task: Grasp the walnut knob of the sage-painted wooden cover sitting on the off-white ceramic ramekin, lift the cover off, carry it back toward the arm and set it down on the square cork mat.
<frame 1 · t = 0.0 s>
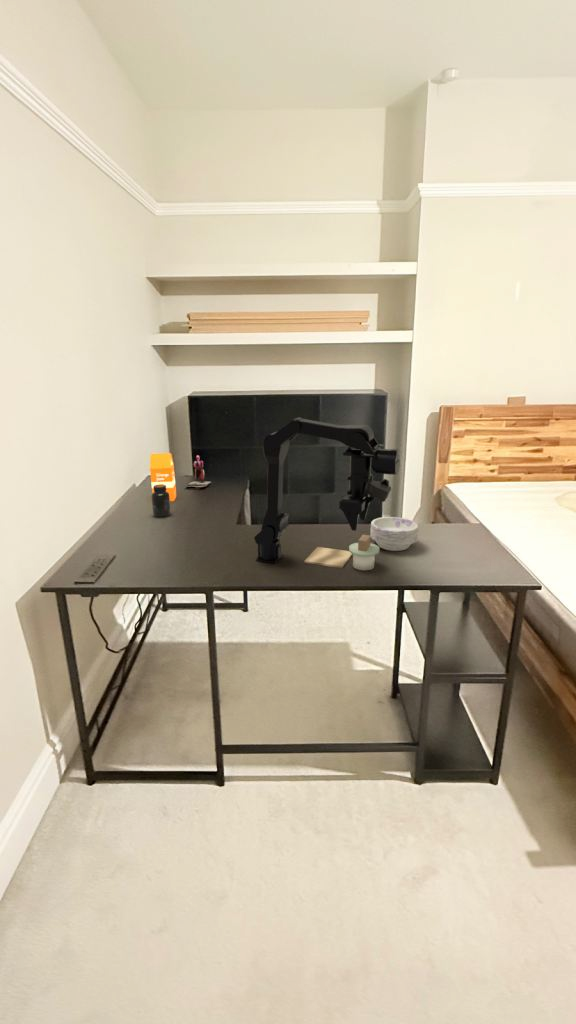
hand: (358, 525, 150), 15 cm above the table, fingers open, 9 cm apart
paper bowls: (393, 546, 173), on the table
statue: (198, 487, 246), on the table
mat: (329, 557, 164), on the table
supplement bottle: (162, 515, 207), on the table
orange juice: (165, 499, 228), on the table
ramekin: (363, 565, 158), on the table
cover: (364, 550, 157), point 5 cm above the table, touching ramekin
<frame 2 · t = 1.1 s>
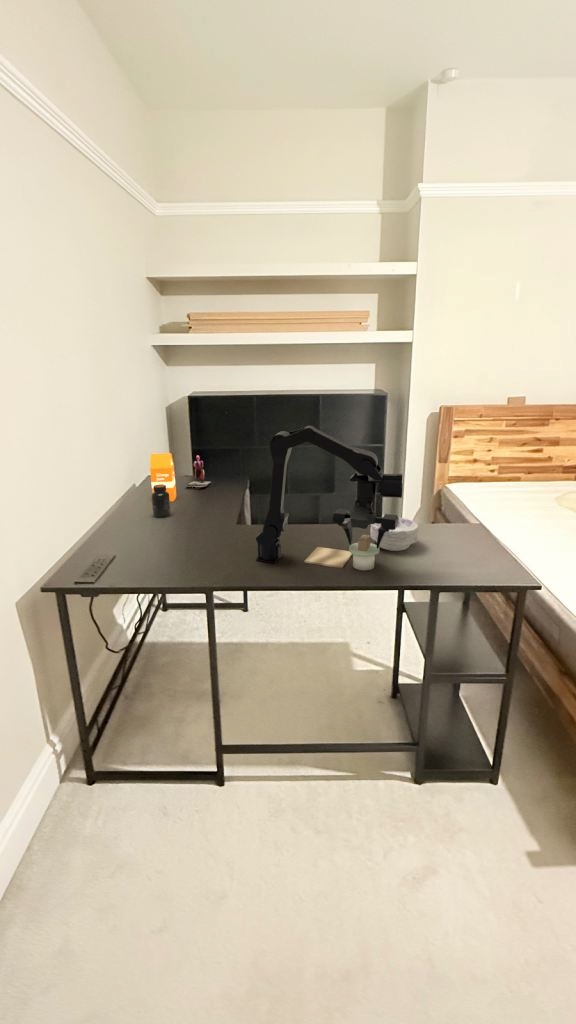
hand: (364, 546, 156), 6 cm above the table, fingers open, 8 cm apart
nothing on the table moved.
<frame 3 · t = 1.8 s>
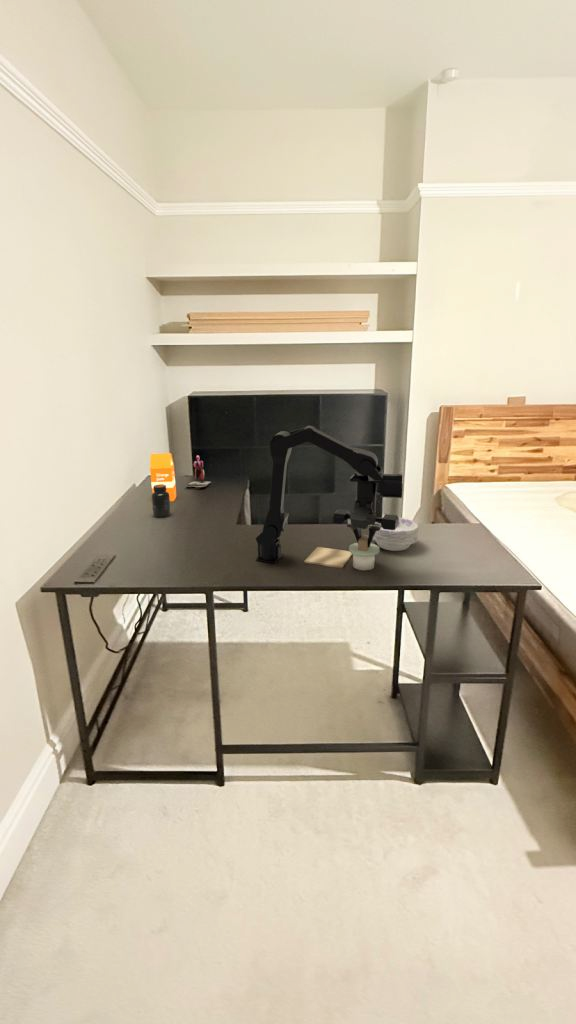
hand: (364, 546, 156), 6 cm above the table, fingers closed on cover, 2 cm apart
cover: (364, 550, 157), point 5 cm above the table, touching gripper, ramekin
everything else where it was.
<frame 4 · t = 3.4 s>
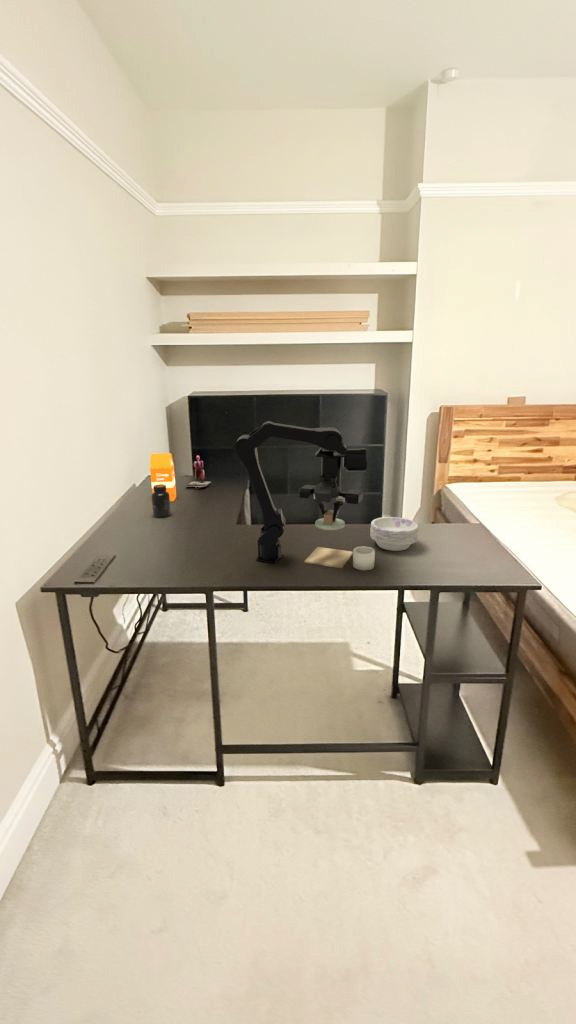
hand: (329, 521, 160), 12 cm above the table, fingers closed on cover, 2 cm apart
cover: (329, 524, 161), point 11 cm above the table, touching gripper
everything else where it was.
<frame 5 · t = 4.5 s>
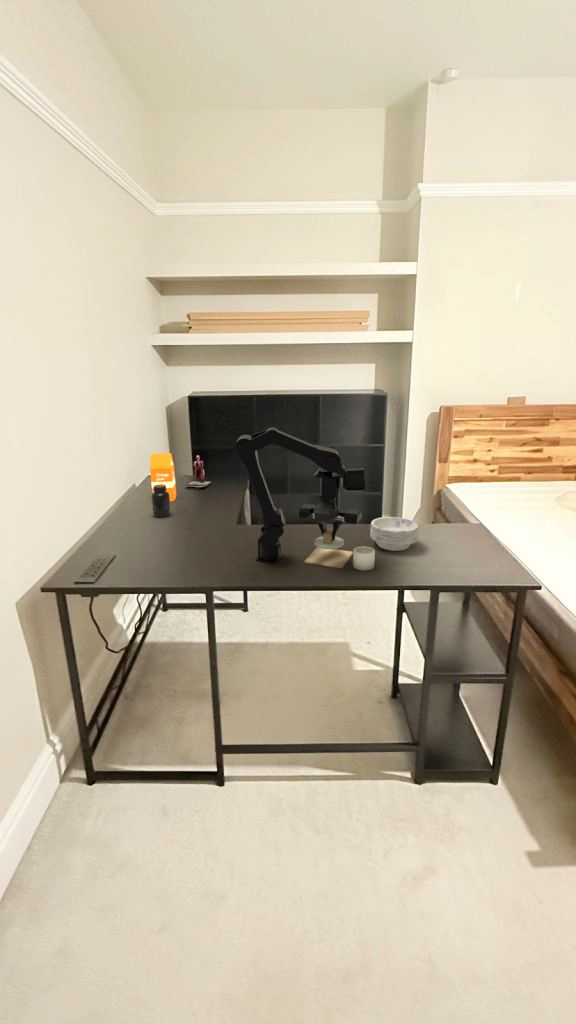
hand: (329, 539, 162), 6 cm above the table, fingers closed on cover, 2 cm apart
cover: (329, 543, 163), point 5 cm above the table, touching gripper
everything else where it was.
when the fingers open (3 cm above the table, at t = 5.2 s): cover drops 2 cm, resting on mat.
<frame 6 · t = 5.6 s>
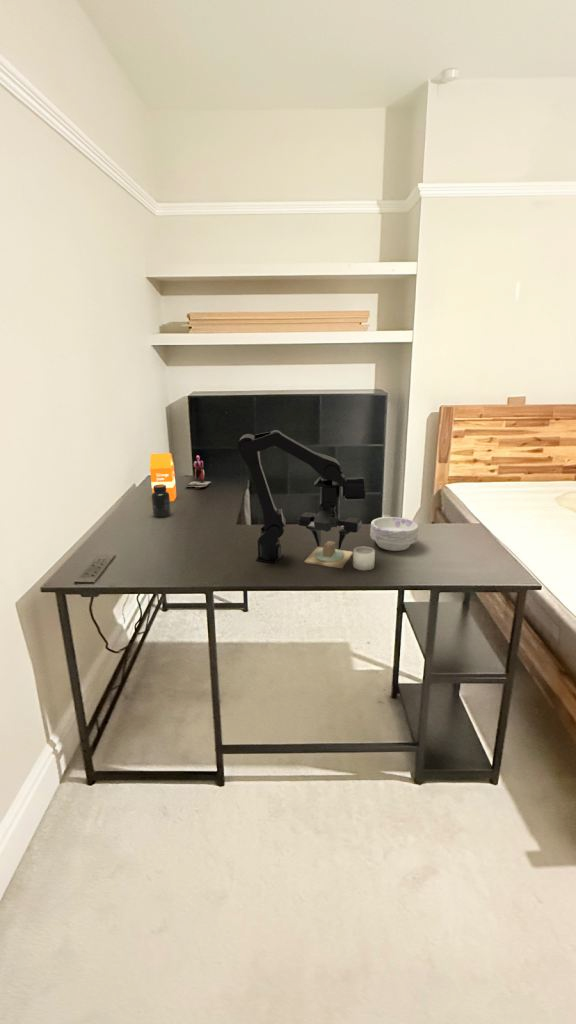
hand: (329, 547, 163), 3 cm above the table, fingers open, 6 cm apart
cover: (329, 556, 164), point 1 cm above the table, touching mat
everything else where it was.
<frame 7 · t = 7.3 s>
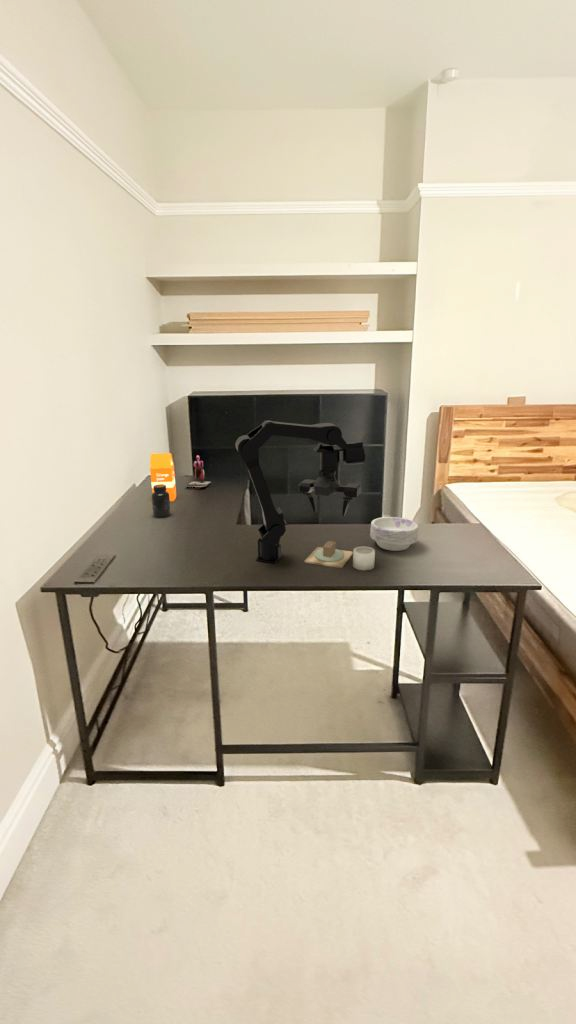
hand: (329, 514, 164), 13 cm above the table, fingers open, 9 cm apart
nothing on the table moved.
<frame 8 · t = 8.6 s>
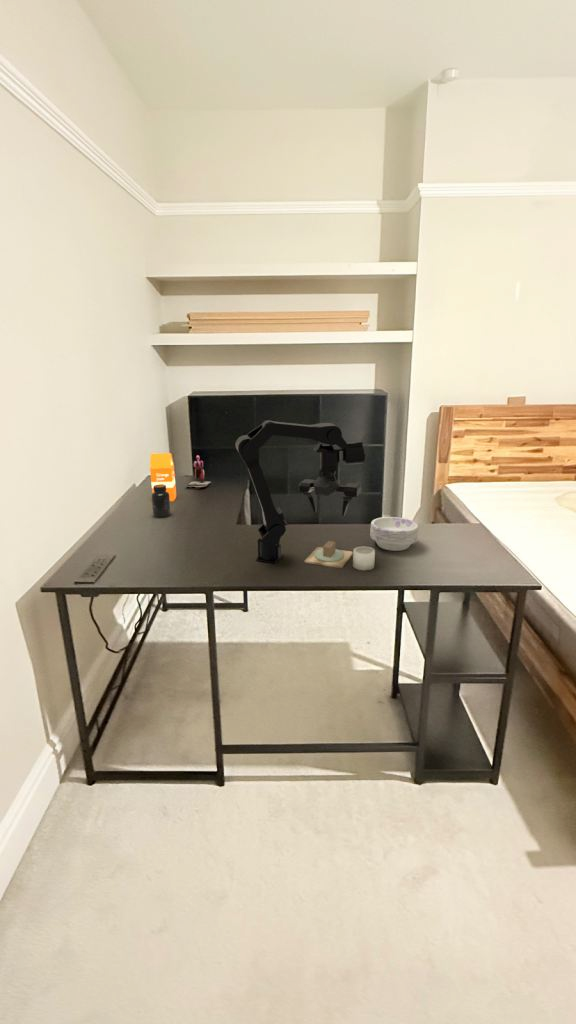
hand: (329, 514, 164), 13 cm above the table, fingers open, 9 cm apart
nothing on the table moved.
at the end: cover inside the target area on the mat (0.0 cm from its centre), point 0.6 cm above the mat's base; cover touching mat; cover tilted 0° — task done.
